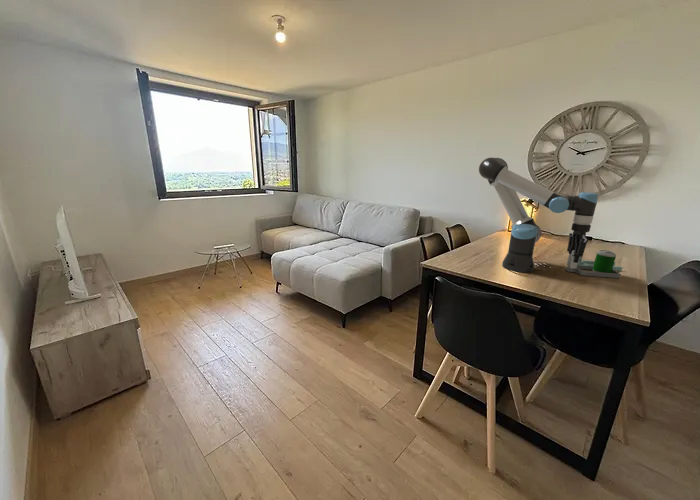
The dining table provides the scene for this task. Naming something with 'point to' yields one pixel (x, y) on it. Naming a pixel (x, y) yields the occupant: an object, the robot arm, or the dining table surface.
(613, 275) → the frame
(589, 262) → the lane
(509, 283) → the dining table surface
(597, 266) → the soda can
